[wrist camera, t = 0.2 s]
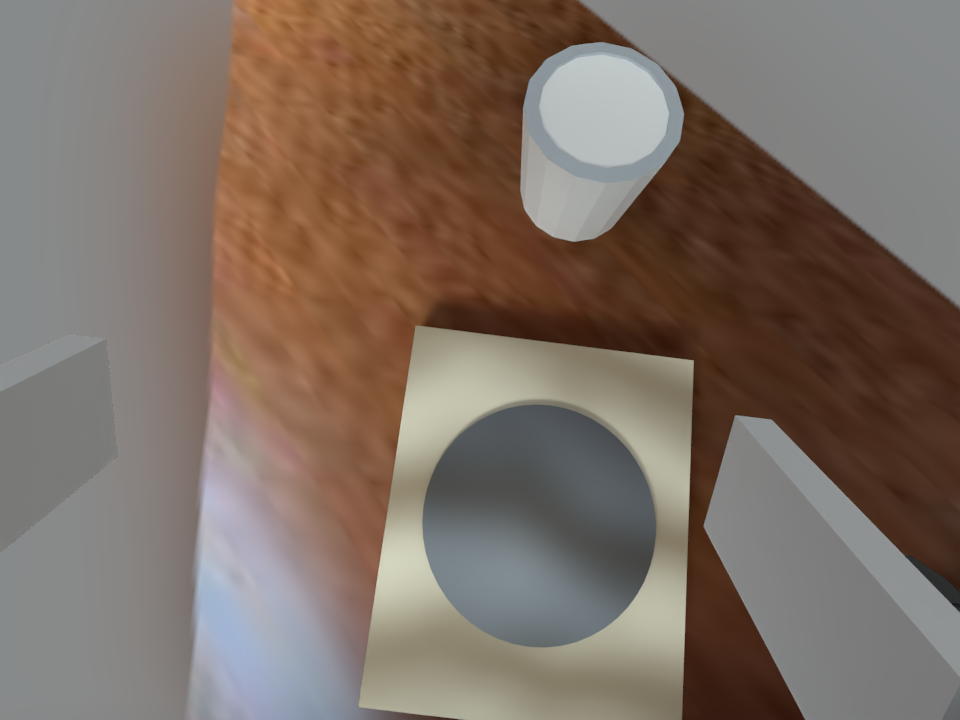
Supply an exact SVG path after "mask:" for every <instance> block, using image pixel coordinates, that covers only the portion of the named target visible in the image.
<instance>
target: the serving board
mask: <svg viewBox="0 0 960 720" xmlns="http://www.w3.org/2000/svg"><path fill="white" fill-rule="evenodd" d="M693 367H694V360H686V359H678V358H670V357H662V356H654V355H646V354H638V353H631V352H623V351H615V350H607V349H599V348H591V347H583V346H575V345H567V344H559V343H551V342H544V341H536V340H528V339H520V338H512V337H504V336H496V335H488V334H480V333H472V332H465V331H457V330H449V329H441V328H433V327H425V326H417V325H416V327H415V334H414V340H413V347H412V354H411V360H410V367H409V373H408V380H407V387H406V393H405V400H404V406H403V413H402V420H401V426H400V433H399V439H398V446H397V453H396V459H395V466H394V472H393V479H392V486H391V492H390V499H389V505H388V512H387V519H386V525H385V532H384V538H383V545H382V552H381V558H380V565H379V571H378V578H377V585H376V591H375V598H374V604H373V611H372V618H371V624H370V631H369V637H368V644H367V651H366V657H365V664H364V670H363V677H362V684H361V690H360V697H359V703H358V707H360V708H369V709H377V710H386V711H394V712H403V713H411V714H420V715H428V716H437V717H445V718H454V719H462V720H682V704H683V674H684V643H685V612H686V582H687V551H688V520H689V490H690V459H691V428H692V398H693Z"/></svg>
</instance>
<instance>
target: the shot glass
mask: <svg viewBox="0 0 960 720" xmlns="http://www.w3.org/2000/svg"><path fill="white" fill-rule="evenodd" d="M683 118H684V112H683V108H682V105H681V102H680V98H679V95H678V91H677V88H676V86H675V85H674V84H673V82H672V81H671V80H670V79H669V78H668V76H667V75H666V74H665V73H664V71H663V70H662V69H661V68H660V66H659V65H658V64H657V63H655V62H653V61H652V60H650V59H648V58H647V57H645V56H643V55H642V54H640V53H638V52H637V51H635V50H633V49H632V48H627V47H622V46H618V45H613V44H608V43H604V42H598V43H589V44H581V45H573V46H570V47H568V48H566V49H564V50H563V51H561V52H559V53H557V54H555V55H553V56H551V57H549V58H547V59H546V60H545V61H544V63H543V64H542V65H541V66H540V68H539V69H538V70H537V71H536V73H535V74H534V75H533V76H532V78H531V79H530V80H529V84H528V88H527V93H526V97H525V101H524V106H523V128H522V156H521V185H520V192H521V197H522V201H523V206H524V210H525V211H526V213H527V214H528V215H529V217H530V218H531V220H532V221H533V222H534V224H535V225H536V226H537V227H538V228H540V229H542V230H543V231H545V232H546V233H548V234H549V235H551V236H552V237H555V238H559V239H564V240H568V241H573V242H576V241H582V240H589V239H595V238H596V237H598V236H600V235H601V234H603V233H605V232H607V231H608V230H610V229H611V228H612V227H613V226H614V225H615V224H616V222H617V221H618V220H619V219H620V217H621V216H622V215H623V214H624V212H625V211H626V210H627V209H628V208H629V206H630V205H631V204H632V203H633V201H634V200H635V199H636V198H637V196H638V195H639V194H640V193H641V192H642V190H643V189H644V188H645V187H646V185H647V184H648V183H649V182H650V180H651V179H652V178H653V177H654V176H655V174H656V173H657V172H658V171H659V169H660V168H661V167H662V166H663V164H664V163H665V162H666V160H667V159H668V157H669V156H670V155H671V153H672V152H673V150H674V149H675V147H676V146H677V145H678V143H679V142H680V138H681V131H682V125H683Z"/></svg>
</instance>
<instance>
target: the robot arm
mask: <svg viewBox="0 0 960 720" xmlns="http://www.w3.org/2000/svg"><path fill="white" fill-rule="evenodd" d="M116 457H117V446H116V435H115V425H114V414H113V404H112V393H111V383H110V372H109V362H108V352H107V342H106V339H103V338H95V337H87V336H78V335H70V334H69V335H67V336H65V337H62V338H60V339H58V340H56V341H53V342H51V343H49V344H47V345H44V346H42V347H40V348H38V349H35V350H33V351H31V352H29V353H26V354H24V355H22V356H20V357H17V358H15V359H13V360H11V361H8V362H6V363H4V364H2V365H0V553H1V552H2V551H3V550H4V549H6V548H7V547H8V546H9V545H10V544H12V543H13V542H14V541H15V540H16V539H18V538H19V537H20V536H21V535H23V534H24V533H25V532H26V531H27V530H29V529H30V528H31V527H32V526H34V525H35V524H36V523H37V522H38V521H40V520H41V519H42V518H43V517H45V516H46V515H47V514H48V513H49V512H51V511H52V510H53V509H54V508H55V507H57V506H58V505H59V504H60V503H61V502H63V501H64V500H65V499H66V498H68V497H69V496H70V495H71V494H73V493H74V492H75V491H76V490H77V489H79V488H80V487H81V486H82V485H83V484H85V483H86V482H87V481H88V480H89V479H91V478H92V477H93V476H94V475H96V474H97V473H98V472H99V471H101V470H102V469H103V468H104V467H105V466H107V465H108V464H109V463H110V462H111V461H112V460H114V459H115V458H116ZM703 527H704V529H705V530H706V532H707V534H708V536H709V538H710V540H711V542H712V544H713V546H714V548H715V549H716V551H717V553H718V555H719V557H720V559H721V561H722V563H723V565H724V567H725V568H726V570H727V572H728V574H729V576H730V578H731V580H732V582H733V584H734V586H735V587H736V589H737V591H738V593H739V595H740V597H741V599H742V601H743V603H744V604H745V606H746V608H747V610H748V612H749V614H750V616H751V618H752V620H753V622H754V623H755V625H756V627H757V629H758V631H759V633H760V635H761V637H762V639H763V641H764V642H765V644H766V646H767V648H768V650H769V652H770V654H771V656H772V658H773V660H774V661H775V663H776V665H777V667H778V669H779V671H780V673H781V675H782V677H783V679H784V680H785V682H786V684H787V686H788V688H789V690H790V692H791V694H792V696H793V697H794V699H795V701H796V703H797V705H798V707H799V709H800V711H801V713H802V715H803V716H804V718H805V720H960V592H959V591H958V590H957V589H956V588H955V587H953V586H952V585H951V584H950V583H949V582H948V581H947V580H946V579H945V578H943V577H942V576H940V575H939V574H937V573H936V572H934V571H933V570H931V569H930V568H928V567H927V566H925V565H924V564H922V563H921V562H919V561H918V560H916V559H915V558H913V557H912V556H905V555H903V554H902V553H901V552H900V551H899V550H898V549H897V548H896V547H895V546H894V545H893V544H892V543H891V542H890V541H889V539H888V538H887V537H886V536H885V535H884V534H883V533H882V532H881V531H880V530H879V529H878V528H877V527H876V526H875V525H874V524H873V523H872V522H871V521H870V520H869V519H868V518H867V517H866V516H865V515H864V514H863V513H862V512H861V511H860V510H859V509H858V508H857V507H856V506H855V505H854V504H853V503H852V502H851V501H850V499H849V498H848V497H847V496H846V495H845V494H844V493H843V492H842V491H841V490H840V489H839V488H838V487H837V486H836V485H835V484H834V483H833V482H832V481H831V480H830V479H829V478H828V477H827V476H826V475H825V474H824V473H823V472H822V471H821V470H820V469H819V468H818V467H817V466H816V465H815V464H814V463H813V462H812V461H811V459H810V458H809V457H808V456H807V455H806V454H805V453H804V452H803V451H802V450H801V449H800V448H799V447H798V446H797V445H796V444H795V443H794V442H793V441H792V440H791V439H790V438H789V437H788V436H787V435H786V434H785V433H784V432H783V431H782V430H781V429H780V428H779V427H778V426H777V425H776V424H775V423H774V422H773V421H772V420H771V419H762V418H754V417H746V416H738V415H735V418H734V422H733V425H732V429H731V432H730V436H729V439H728V443H727V446H726V450H725V453H724V457H723V460H722V464H721V467H720V471H719V474H718V477H717V481H716V484H715V488H714V491H713V495H712V498H711V502H710V505H709V509H708V512H707V516H706V519H705V523H704V526H703Z"/></svg>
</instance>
